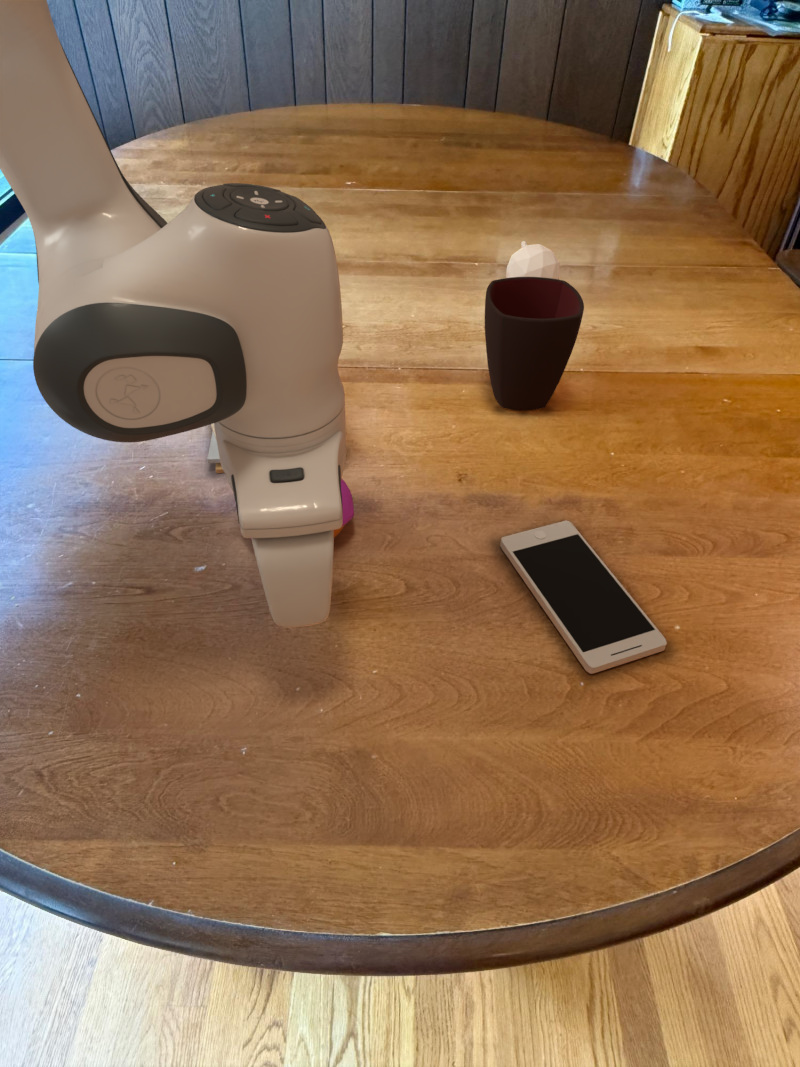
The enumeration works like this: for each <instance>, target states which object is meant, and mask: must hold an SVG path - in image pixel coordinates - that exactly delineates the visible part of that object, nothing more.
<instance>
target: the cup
mask: <svg viewBox="0 0 800 1067" xmlns="http://www.w3.org/2000/svg"><path fill="white" fill-rule="evenodd" d="M484 300H485V301H484V337H485V351H486V361H487V362H486V363H487V368H488V375H489V381H490V386H491V390H492V394H493V397H494V399H495V401H496V403H497V404H498V405H499V407H501V408H502V409H505V410H509V411H522V412H525V411H527V412H529V411H536V410H541V409H544V408H546V407H547V405H548V403H549V402H550V400H551V398H553V395H554V394H555V391H556V389H557V388H558V385H559V383H560V382H561V379H562V376H563V374H564V372H565V370H566V367H567V365H568V363H569V361H570V358H571V355H572V353H573V350H574V348H575V345H576V342H577V338H578V335H579V332H580V329H581V324H582V320H583V316H584V311H585V303H584V299H583V297H582V296H581V294H580V292H579V291H578V290H577V289H576V288H575V287H574V286H573V285H572V284H570V283H569V282H567V281H566V280H564V279H563V280H562V279H559V280H558V279H552V278H543V277H511V278H506V277H504V278H498V279H494V280H491V281H490V282H489V284H488V286H487V288H486V291H485V299H484Z"/></svg>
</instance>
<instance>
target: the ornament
mask: <svg viewBox="0 0 800 1067" xmlns="http://www.w3.org/2000/svg"><path fill="white" fill-rule="evenodd" d="M520 246H521V247H520V248H519V249H518V250H516V251H514V252H513V253H511V257H510V258H509V261H508V263H507V265H506V271H505V272H506V273H505V274H506V276H505V278H511V277H543V278H552V279H558V280H560V274H561V273H560V272H561V270H560V269H561V268H560V267H561V266H560V265H561V263H560V261H559V259H558V258H557V256H556V254H555V253H554V251H553V250H551V249H550V248H548V247H546V246H544V245H542V244H540V243H535V244H527V241H526V240H522V241H521V243H520Z"/></svg>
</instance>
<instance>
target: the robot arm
mask: <svg viewBox="0 0 800 1067" xmlns="http://www.w3.org/2000/svg"><path fill="white" fill-rule="evenodd" d="M0 171H1V173H2V175H3V176H4V178H5V180H6V181H7V183H8V184H9V186H10V188H11V189H12V192H13V193H14V194H15V196H16V198H17V199H18V201H19V203H20V205H21V206H22V208H23V210H24V211H25V213H26V215H27V217H28V218H27V219H28V220H29V222H30V226H31V228H32V232H33V237H34V243H35V250H36V251H35V252H36V269H37V271H36V272H37V282H38V291H37V292H38V293H37V294H38V295H37V307H36V316H35V327H34V343H33V345H34V346H33V359H32V360H33V361H32V364H33V365H32V366H33V369H32V370H33V376H34V381H35V384H36V386H37V388H38V391H39V393H40V395H41V397H42V398H43V400H44V401H45V403H46V405H48V407H49V408H50V409H51V410H52V411H53V412H54V414H55V415H56V416H58V417H59V418H60V419H61V420H62V421H63V422H65V423H66V424H68V425H69V426H71V427H72V428H74V429H76V430H77V431H80V432H82V433H84V434H86V435H88V436H91V437H94V438H97V439H100V440H104V441H108V442H115V443H140V442H147V441H152V440H158V439H161V438H165V437H170V436H174V435H178V434H182V433H185V432H189V431H193V430H196V429H200V428H203V427H207V426H211V424H213V423H214V427H215V433H216V439H217V445H218V451H219V457H220V463H221V466H222V469H223V471H224V474H225V477H226V479H227V482H228V484H229V486H230V488H231V490H232V492H233V497H234V501H235V507H236V516H237V521H238V525H239V529H240V534H241V536H242V538H244V539H250V538H251V539H252V540H251V539H250V540H251V543H252V548H253V552H254V557H255V561H256V566H257V569H258V573H259V576H260V580H261V584H262V589H263V592H264V595H265V599H266V603H267V607H268V610H269V614H270V616H271V618H272V619H271V620H272V621H273V622H274V624H276V626H278V627H280V628H301V627H308V626H314V625H318V624H321V623H323V622H325V621H326V620H327V619H328V618H329V614H330V611H331V604H332V592H333V591H332V589H333V573H334V572H333V570H334V554H335V553H334V552H335V551H334V550H335V549H334V548H335V546H334V545H335V541H334V540H335V537H334V530H336V529H340V528H341V527H342V524H343V515H342V514H343V506H342V492H341V479H343V475H344V469H345V464H346V463H345V462H346V459H347V425H346V424H347V421H346V420H347V419H346V394H345V389H344V384H343V381H342V379H341V375H340V373H339V359H340V355H341V352H342V348H343V343H344V327H343V324H344V323H343V306H342V305H343V304H342V293H341V283H340V274H339V267H338V260H337V254H336V251H335V250H336V249H335V245H334V241H333V238H332V235H331V233H330V231H329V228H328V226H327V225H326V224H325V221H324V220H323V219H322V218H321V216H319V215H318V214H317V213H316V211H315V210H314V209H313V208H312V207H311V206H309V205H308V204H307V203H306V202H305V201H303V200H302V199H300V198H299V197H297V196H294V195H291V194H289V193H286V192H283V191H282V190H281V189H277V188H273V187H270V186H265V185H261V184H260V185H259V184H253V183H244V182H243V183H241V182H229V183H228V182H227V183H223V184H219V185H213V186H208V187H205V188H203V189H201V190H199V191H197V192H196V193H195V194H194V195H193V197H192V198H191V199H190V202H189V203H188V204H187V205H186V206H185V208H184V209H183V210H181V212H180V213H178V214H177V215H176V216H175V217H173V219H171V220H170V221H166V220H165V219H164V217H163V216H161V215H160V214H159V213H158V212H157V211H156V210H155V209H154V208H153V207H152V206H151V205H150V204H149V203H148V202H147V201H146V200H145V199H144V198H143V197H142V196H141V195H140V194H139V193H138V192H137V191H136V190H135V189H134V188H133V186H132V185H131V184H130V182H129V181H128V180H127V178H126V177H125V176H124V174H123V172H122V171H121V168H120V167H119V165H118V163H117V161H116V159H115V157H114V155H113V152H112V150H111V149H110V145H109V144H108V142H107V140H106V137H105V136H104V133H103V130H102V129H101V127H100V125H99V122H98V120H97V118H96V116H95V114H94V112H93V110H92V108H91V105H90V104H89V100H88V99H87V97H86V95H85V93H84V91H83V88H82V86H81V83H80V82H79V79H78V78H77V75H76V74H75V71H74V69H73V66H72V65H71V63H70V61H69V58H68V57H67V54H66V52H65V49H64V47H63V45H62V43H61V40H60V38H59V36H58V33H57V30H56V27H55V23H54V21H53V18H52V15H51V11H50V8H49V3H48V0H0Z"/></svg>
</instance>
